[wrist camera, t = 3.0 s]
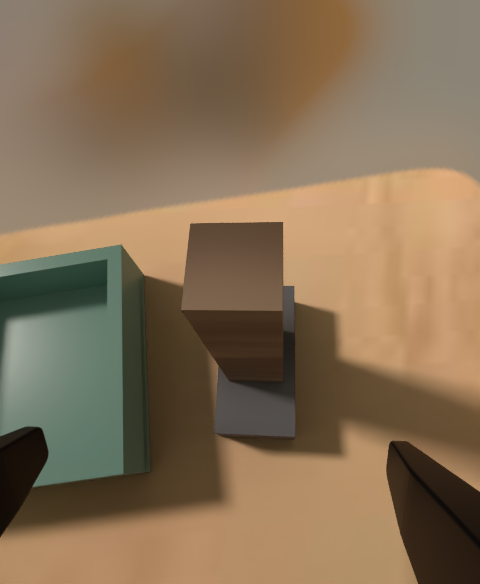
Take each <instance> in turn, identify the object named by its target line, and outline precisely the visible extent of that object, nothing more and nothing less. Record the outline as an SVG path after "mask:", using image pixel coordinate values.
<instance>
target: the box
mask: <svg viewBox="0 0 480 584" xmlns="http://www.w3.org/2000/svg"><path fill="white" fill-rule="evenodd" d="M26 426H35V427H40V428H42V430H43V432H44V436H45V439H46V443H47V447H48V451H49V455H48V459H47V462H46V464H45V466H44V467H43V469H42V471H41V473H40V474H39V476H38V478H37V480H36V481H35V483H34V485H33V487H32V488H39V487H47V486H54V485H61V484H68V483H75V482H82V481H89V480H96V479H103V478H110V477H117V476H124V475H132V474H139V473H146V472H151V470H150V441H149V411H148V382H147V353H146V324H145V295H144V274H143V273H142V272H141V270H140V269H139V268H138V266H137V265H136V264H135V262H134V261H133V260H132V258H131V257H130V256H129V254H128V253H127V252H126V250H125V249H124V248H123V246H122V245H116V246H110V247H104V248H98V249H92V250H86V251H80V252H74V253H68V254H62V255H56V256H50V257H44V258H38V259H32V260H26V261H20V262H14V263H8V264H2V265H0V436H2V435H5V434H7V433H10V432H13V431H15V430H18V429H20V428H23V427H26ZM32 488H31V489H32Z"/></svg>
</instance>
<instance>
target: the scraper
mask: <svg viewBox="0 0 480 584" xmlns="http://www.w3.org/2000/svg"><path fill="white" fill-rule="evenodd" d="M181 311H182V312H183V314H184V315H185V317H186V318H187V320H188V321H189V323H190V324H191V326H192V327H193V329H194V330H195V331H196V333H197V334H198V336H199V337H200V339H201V340H202V342H203V343H204V345H205V346H206V348H207V349H208V351H209V352H210V354H211V355H212V357H213V358H214V359H215V361H216V362H217V364H218V365H219V368H218V383H217V398H216V413H215V428H214V433H215V434H217V435H219V436H229V437H252V438H275V439H295V321H294V286H283V222H258V223H197V224H190V232H189V241H188V250H187V259H186V268H185V277H184V286H183V295H182V304H181Z"/></svg>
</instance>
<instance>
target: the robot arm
mask: <svg viewBox="0 0 480 584" xmlns="http://www.w3.org/2000/svg"><path fill="white" fill-rule="evenodd" d="M48 455H49V451H48V447H47V443H46V439H45V436H44V432H43V430H42V428H40V427H35V426H26V427H23V428H20V429H18V430H15V431H13V432H10V433H7V434H5V435H2V436H0V537H1V535H2V534H3V533H4V531H5V530H6V528H7V527H8V525H9V524H10V523H11V521H12V520H13V518H14V517H15V515H16V514H17V512H18V511H19V509H20V507H21V506H22V504H23V502H24V501H25V499H26V497H27V496H28V494H29V492H30V490H31V488H32V487H33V485H34V483H35V481H36V480H37V478H38V476H39V474H40V473H41V471H42V469H43V467H44V466H45V464H46V462H47V459H48ZM386 472H387V479H388V484H389V488H390V492H391V496H392V501H393V505H394V509H395V513H396V518H397V522H398V526H399V530H400V534H401V537H402V540H403V543H404V546H405V549H406V551H407V554H408V557H409V560H410V562H411V565H412V568H413V571H414V573H415V576H416V579H417V582H418V584H480V492H479V491H478V490H476V489H475V488H474V487H472V486H471V485H469V484H468V483H466V482H465V481H463V480H462V479H461V478H459V477H458V476H456V475H455V474H453V473H452V472H451V471H449V470H448V469H446V468H445V467H443V466H442V465H440V464H439V463H438V462H436V461H435V460H433V459H432V458H430V457H429V456H428V455H426V454H425V453H423V452H422V451H420V450H419V449H417V448H416V447H415V446H413V445H412V444H410V443H409V442H407V441H391V442H390V444H389V449H388V458H387V467H386Z"/></svg>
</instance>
